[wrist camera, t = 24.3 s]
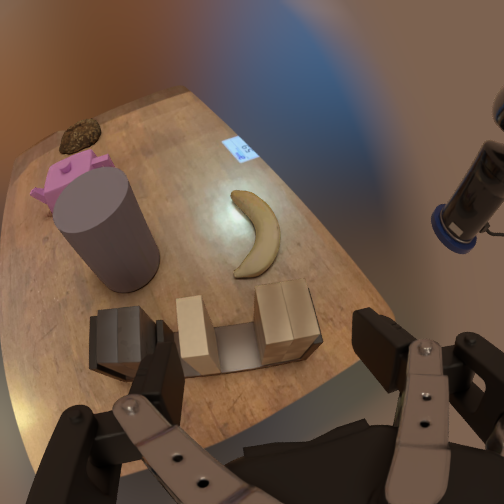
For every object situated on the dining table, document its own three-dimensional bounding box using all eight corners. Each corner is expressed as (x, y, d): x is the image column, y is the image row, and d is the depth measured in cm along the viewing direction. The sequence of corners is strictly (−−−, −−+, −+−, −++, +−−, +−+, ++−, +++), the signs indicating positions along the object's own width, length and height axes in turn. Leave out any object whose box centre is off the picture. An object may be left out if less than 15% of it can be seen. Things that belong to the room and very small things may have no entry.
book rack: (296, 316, 37) (314, 274, 27) (306, 359, 34) (331, 333, 23) (121, 339, 34) (76, 305, 24) (122, 381, 31) (73, 363, 21)
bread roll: (101, 121, 65) (96, 107, 61) (102, 141, 59) (96, 125, 55) (62, 139, 62) (56, 125, 58) (58, 161, 56) (51, 147, 52)
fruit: (273, 197, 48) (274, 183, 45) (284, 276, 40) (287, 265, 37) (230, 199, 48) (229, 186, 45) (233, 280, 40) (232, 268, 37)
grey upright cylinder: (105, 302, 37) (51, 246, 25) (97, 249, 42) (55, 186, 30) (167, 279, 39) (133, 211, 27) (152, 227, 45) (124, 156, 32)
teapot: (45, 235, 44) (18, 201, 35) (50, 199, 49) (29, 165, 40) (124, 205, 47) (105, 163, 39) (122, 170, 53) (107, 131, 44)
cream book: (214, 329, 35) (201, 294, 25) (221, 372, 32) (208, 354, 22) (196, 332, 34) (175, 298, 25) (201, 375, 31) (181, 357, 22)
